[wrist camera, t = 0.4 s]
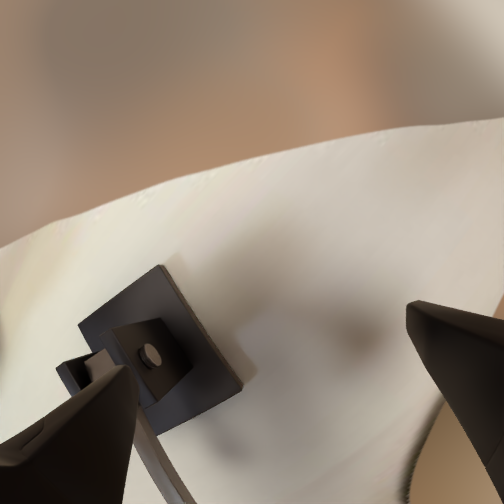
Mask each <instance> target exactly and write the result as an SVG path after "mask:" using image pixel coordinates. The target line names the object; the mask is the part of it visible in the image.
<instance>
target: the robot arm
mask: <svg viewBox="0 0 504 504" xmlns="http://www.w3.org/2000/svg"><path fill="white" fill-rule="evenodd" d="M406 329H407V333H408V335H409V337H410V339H411V340H412V342H413V344H414V346H415V348H416V350H417V352H418V354H419V356H420V358H421V360H422V362H423V364H424V366H425V368H426V369H427V371H428V373H429V374H430V376H431V377H432V379H433V380H434V382H435V383H436V385H437V387H438V388H439V390H440V391H441V393H442V394H443V396H444V398H445V399H446V401H447V402H448V404H449V406H450V407H451V409H452V410H453V412H454V414H455V416H456V417H457V419H458V421H459V422H460V424H461V426H462V427H463V429H464V431H465V432H466V434H467V436H468V438H469V439H470V441H471V443H472V445H473V446H474V448H475V450H476V452H477V454H478V455H479V457H480V459H481V461H482V463H483V464H484V466H485V469H486V471H487V472H488V475H489V476H490V478H491V480H492V482H493V484H494V486H495V488H496V490H497V492H498V494H499V496H500V498H501V500H502V503H503V504H504V320H501V319H497V318H493V317H488V316H484V315H480V314H476V313H471V312H467V311H463V310H458V309H454V308H450V307H446V306H441V305H437V304H433V303H429V302H425V301H420V300H417V301H414V302H411V303H408V304H407V306H406ZM139 392H140V387H139V384H138V382H137V380H136V378H135V376H134V374H133V372H132V370H131V368H130V367H129V366H128V365H117V366H115V367H114V368H112V369H111V370H109V371H108V372H107V373H105V374H104V375H102V376H101V377H100V378H98V379H97V380H95V381H94V382H93V383H91V384H90V385H88V386H87V387H86V388H84V389H83V390H81V391H80V392H78V393H77V394H76V395H74V396H73V397H71V398H70V399H69V400H67V401H66V402H64V403H63V404H61V405H60V406H59V407H57V408H56V409H54V410H53V411H51V412H50V413H49V414H47V415H46V416H45V417H43V418H41V419H40V420H38V421H37V422H36V423H34V424H33V425H31V426H30V427H28V428H27V429H25V430H23V431H22V432H20V433H18V434H17V435H15V436H14V437H12V438H10V439H8V440H7V441H5V442H3V443H2V444H0V504H122V501H123V494H124V488H125V482H126V476H127V471H128V465H129V460H130V455H131V449H132V444H133V439H134V434H135V429H136V422H137V411H138V401H139Z"/></svg>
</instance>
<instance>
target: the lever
mask: <svg viewBox="0 0 504 504" xmlns="http://www.w3.org/2000/svg"><path fill="white" fill-rule="evenodd" d="M84 364H85V367H86V370H87V373H88V376H89V378H90V381H91V383H93V382H94V381H95V380H97V379H98V378H100V377H101V376H102V375H104V374H105V373H107V372H108V371H109V370H111V369H112V368H114V367H115V366H116V365H115V364H114V362H113V361H112V359H111V357H110V356H109V354H108V352H107V351H106V349H105V348H104V349H103V350H101V351H100V352H98V353H97V354H95V355H94V356H93V357H91V358H90V359H88V360H87V361H85V362H84ZM133 444H134V446H135V448H136V450H137V452H138V454H139V456H140V458H141V459H142V461H143V463H144V465H145V467H146V468H147V470H148V472H149V474H150V476H151V477H152V479H153V481H154V482H155V484H156V486H157V487H158V489H159V491H160V492H161V494H162V496H163V497H164V499H165V500H166V502H167V503H168V504H197V503H196V502H195V500H194V499H193V497H192V496H191V494H190V492H189V491H188V489H187V488H186V486H185V485H184V483H183V481H182V480H181V478H180V477H179V475H178V473H177V472H176V470H175V468H174V467H173V465H172V463H171V461H170V460H169V458H168V456H167V455H166V453H165V451H164V449H163V447H162V446H161V444H160V442H159V440H158V438H157V436H156V434H155V432H154V431H153V429H152V427H151V425H150V423H149V421H148V419H147V417H146V415H145V413H144V411H143V409H142V406H141V404H140V402H139V401H138V411H137V422H136V429H135V434H134V439H133Z"/></svg>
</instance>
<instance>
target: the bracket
mask: <svg viewBox="0 0 504 504" xmlns="http://www.w3.org/2000/svg"><path fill="white" fill-rule="evenodd" d="M78 327H79V329H80V331H81V333H82V334H83V336H84V338H85V340H86V342H87V344H88V345H89V347H90V349H91V351H92V352H93V353H90V354H87V355H84V356H81V357H78V358H74V359H71V360H68V361H65V362H63V363H62V364H60V365H59V366H58V367H56V371H57V373H58V374H59V376H60V378H61V380H62V381H63V383H64V385H65V387H66V388H67V390H68V392H69V393H70V395H71V397H73V396H74V395H76V394H77V393H78V392H80V391H81V390H83V389H84V388H86V387H87V386H88V385H90V384H91V381H90V378H89V376H88V373H87V370H86V367H85V364H84V362H85V361H87V360H88V359H90V358H91V357H93V356H94V355H95V354H97V353H98V352H100V351H101V350H103V349H104V348H105V349H106V351H107V352H108V354H109V356H110V357H111V359H112V361H113V362H114V364H115V365H116V366H117V365H128V366H129V367H130V368H131V370H132V372H133V374H134V376H135V378H136V380H137V382H138V384H139V387H140V392H139V402H140V404H141V406H142V409H143V411H144V413H145V415H146V417H147V419H148V421H149V423H150V425H151V427H152V429H153V431H154V432H155V434H156V436H158V435H160V434H162V433H164V432H166V431H168V430H170V429H172V428H174V427H176V426H178V425H180V424H182V423H184V422H186V421H188V420H190V419H192V418H194V417H196V416H198V415H199V414H201V413H203V412H205V411H207V410H209V409H211V408H212V407H214V406H216V405H218V404H220V403H221V402H223V401H225V400H227V399H228V398H230V397H232V396H234V395H235V394H237V393H239V392H241V391H242V389H243V384H242V383H241V381H240V380H239V379H238V377H237V376H236V374H235V373H234V372H233V370H232V369H231V367H230V366H229V365H228V363H227V362H226V360H225V359H224V358H223V356H222V355H221V353H220V352H219V350H218V349H217V347H216V346H215V345H214V343H213V342H212V340H211V339H210V337H209V336H208V334H207V333H206V331H205V330H204V328H203V327H202V325H201V324H200V322H199V321H198V319H197V318H196V316H195V315H194V313H193V312H192V310H191V308H190V307H189V305H188V304H187V302H186V301H185V299H184V298H183V296H182V294H181V293H180V291H179V290H178V288H177V286H176V285H175V283H174V282H173V280H172V278H171V277H170V275H169V273H168V272H167V270H166V269H165V267H164V266H163V265H157V266H155V267H154V268H153V269H151V270H150V271H149V272H147V273H146V274H144V275H143V276H142V277H140V278H139V279H138V280H136V281H135V282H133V283H132V284H131V285H129V286H128V287H127V288H125V289H124V290H123V291H121V292H120V293H119V294H117V295H116V296H115V297H113V298H112V299H111V300H109V301H108V302H107V303H105V304H104V305H103V306H101V307H100V308H99V309H97V310H96V311H95V312H93V313H92V314H91V315H89V316H88V317H87V318H86V319H84V320H83V321H82V322H80V323H79V324H78Z"/></svg>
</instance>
